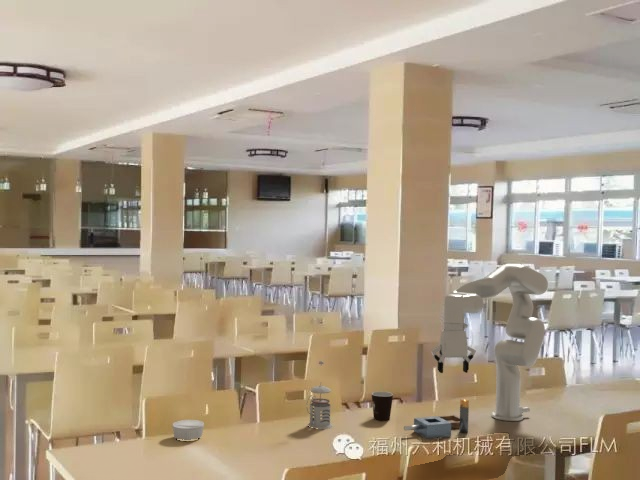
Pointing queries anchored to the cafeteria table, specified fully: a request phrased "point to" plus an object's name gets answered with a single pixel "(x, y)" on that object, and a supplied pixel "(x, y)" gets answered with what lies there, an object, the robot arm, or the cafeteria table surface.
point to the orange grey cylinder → (464, 415)
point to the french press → (320, 408)
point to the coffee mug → (382, 405)
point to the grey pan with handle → (431, 427)
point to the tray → (452, 420)
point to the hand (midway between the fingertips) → (453, 372)
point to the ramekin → (188, 429)
